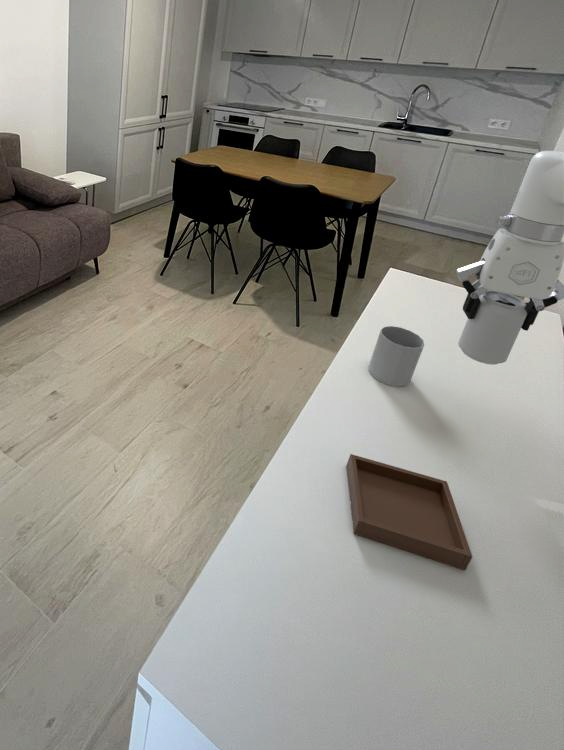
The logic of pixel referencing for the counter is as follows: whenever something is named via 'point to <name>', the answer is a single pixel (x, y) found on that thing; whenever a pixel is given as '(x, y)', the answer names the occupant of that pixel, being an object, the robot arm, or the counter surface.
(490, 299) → the can
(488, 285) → the robot arm
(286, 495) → the counter surface
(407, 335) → the cup
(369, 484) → the tray
